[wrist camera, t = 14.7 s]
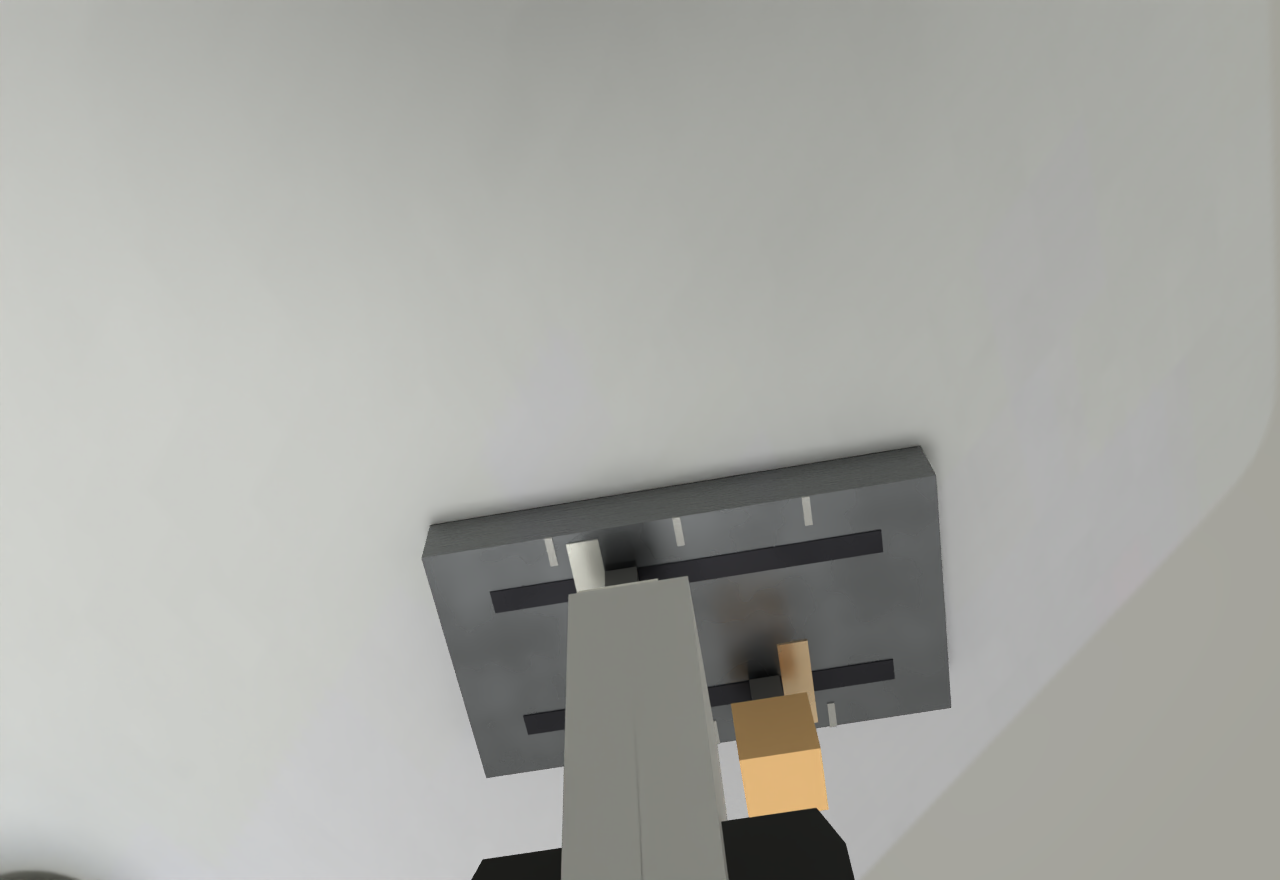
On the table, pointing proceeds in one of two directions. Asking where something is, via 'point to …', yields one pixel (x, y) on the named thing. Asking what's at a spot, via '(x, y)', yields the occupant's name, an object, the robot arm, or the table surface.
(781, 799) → the fader
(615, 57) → the table surface
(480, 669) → the console
